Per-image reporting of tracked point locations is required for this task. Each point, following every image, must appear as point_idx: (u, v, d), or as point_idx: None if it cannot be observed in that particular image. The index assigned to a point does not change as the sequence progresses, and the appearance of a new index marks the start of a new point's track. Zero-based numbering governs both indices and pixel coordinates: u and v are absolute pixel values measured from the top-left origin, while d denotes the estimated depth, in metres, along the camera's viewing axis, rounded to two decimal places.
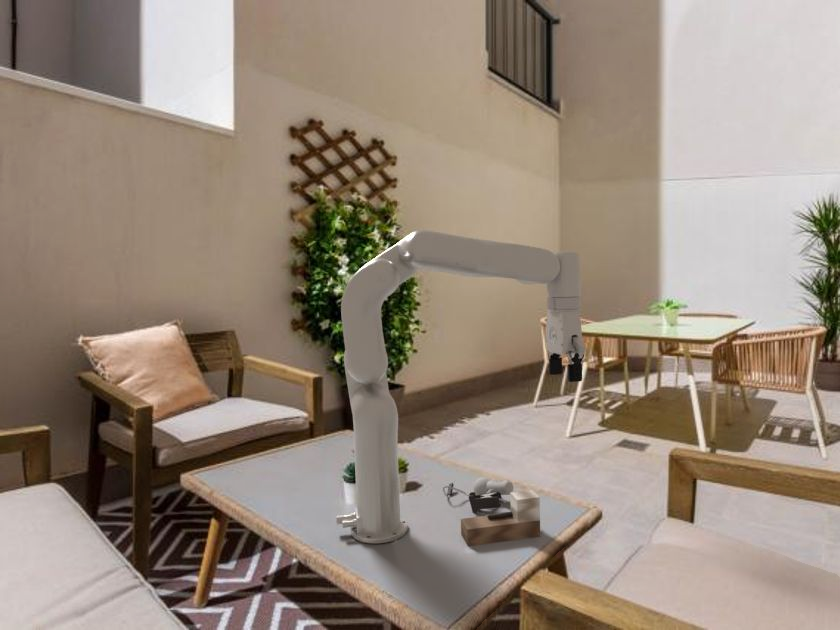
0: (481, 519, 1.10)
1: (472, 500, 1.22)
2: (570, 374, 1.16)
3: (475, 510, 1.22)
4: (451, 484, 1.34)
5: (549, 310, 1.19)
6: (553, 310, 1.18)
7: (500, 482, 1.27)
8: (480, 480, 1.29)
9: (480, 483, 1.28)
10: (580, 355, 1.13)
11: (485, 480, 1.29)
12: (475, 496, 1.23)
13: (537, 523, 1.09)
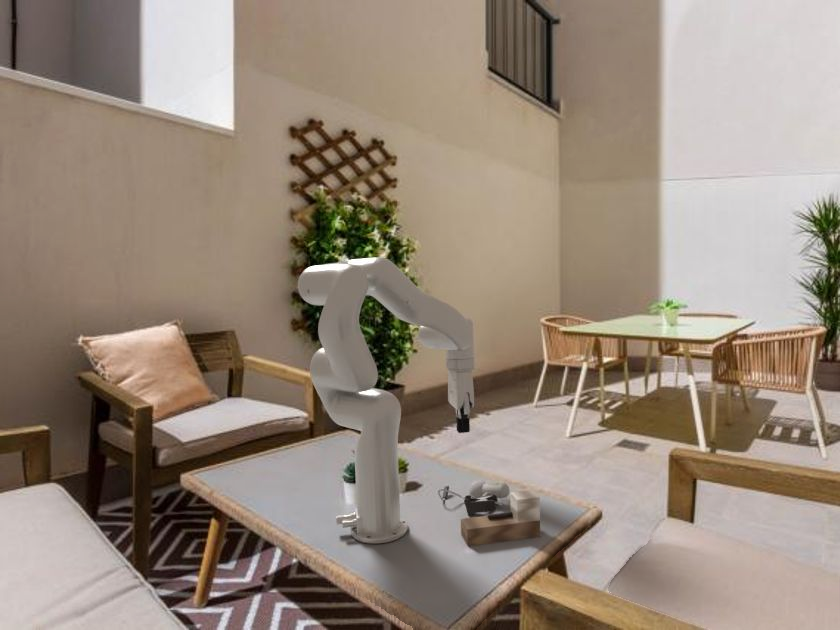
0: (481, 519, 1.10)
1: (468, 503, 1.20)
2: (459, 426, 1.37)
3: (471, 513, 1.20)
4: (446, 487, 1.33)
5: (447, 369, 1.36)
6: (449, 370, 1.35)
7: (496, 485, 1.25)
8: (476, 483, 1.28)
9: (476, 486, 1.27)
10: None
11: (481, 483, 1.27)
12: (471, 499, 1.22)
13: (537, 523, 1.09)
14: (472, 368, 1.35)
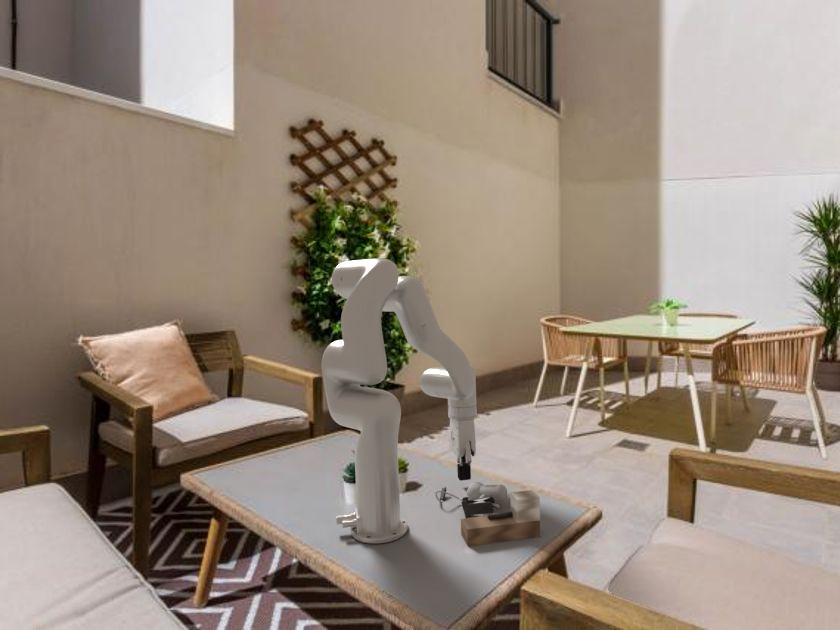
0: (481, 519, 1.10)
1: (465, 505, 1.19)
2: (460, 474, 1.36)
3: (468, 515, 1.19)
4: (444, 488, 1.32)
5: (449, 416, 1.36)
6: (451, 417, 1.34)
7: (493, 487, 1.24)
8: (473, 484, 1.27)
9: (473, 488, 1.26)
10: None
11: (478, 484, 1.26)
12: (468, 501, 1.21)
13: (537, 523, 1.09)
14: (474, 416, 1.34)
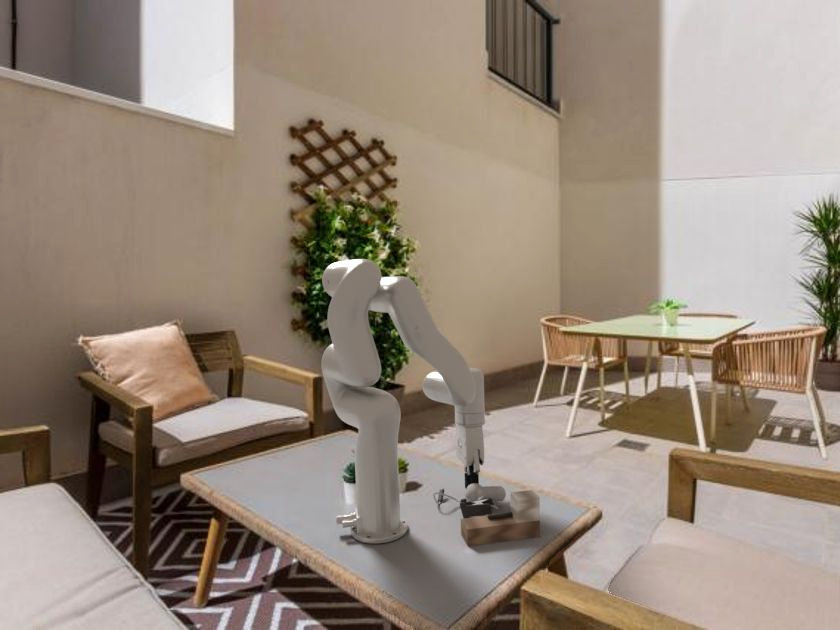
0: (481, 519, 1.10)
1: (463, 507, 1.18)
2: (468, 483, 1.30)
3: (466, 517, 1.18)
4: (442, 490, 1.31)
5: (456, 423, 1.29)
6: (458, 424, 1.28)
7: (492, 488, 1.23)
8: (471, 486, 1.26)
9: (471, 489, 1.25)
10: None
11: (477, 486, 1.25)
12: (466, 503, 1.20)
13: (537, 523, 1.09)
14: (482, 422, 1.28)
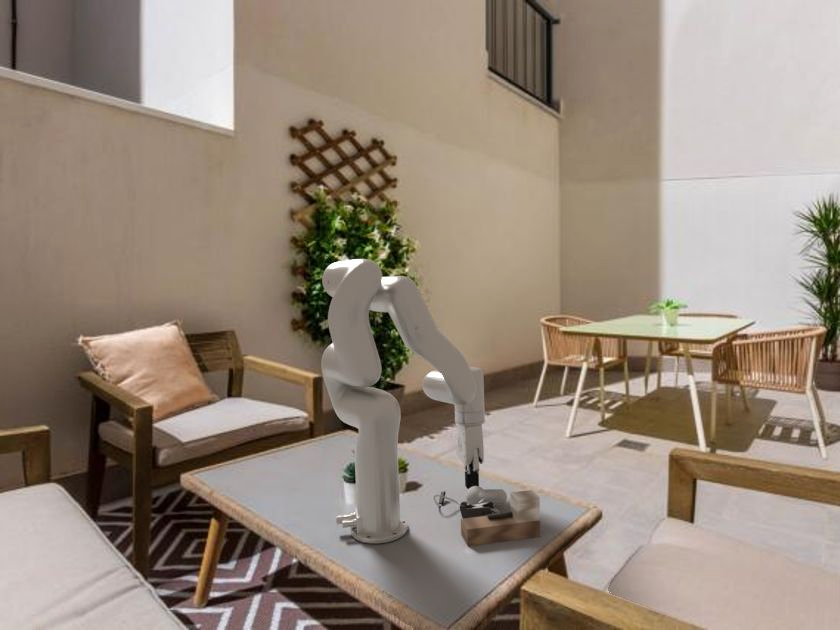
0: (481, 519, 1.10)
1: (463, 510, 1.16)
2: (468, 482, 1.30)
3: None
4: (443, 492, 1.29)
5: (455, 422, 1.29)
6: (458, 423, 1.28)
7: (493, 491, 1.21)
8: (472, 489, 1.24)
9: (472, 492, 1.23)
10: None
11: (478, 489, 1.24)
12: (466, 506, 1.18)
13: (537, 523, 1.09)
14: (482, 421, 1.28)
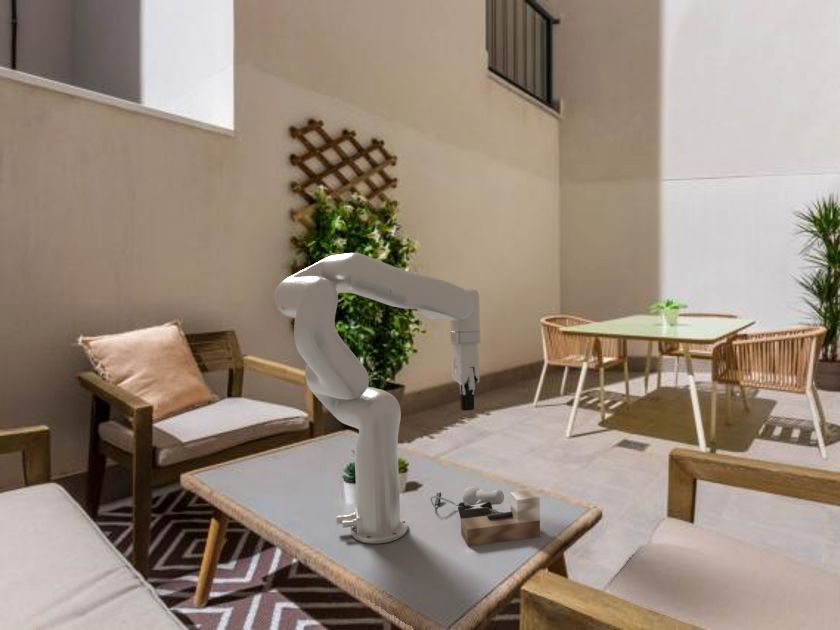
0: (481, 519, 1.10)
1: (461, 511, 1.16)
2: (463, 404, 1.30)
3: None
4: (439, 493, 1.29)
5: (451, 343, 1.30)
6: (454, 343, 1.28)
7: (490, 491, 1.21)
8: (469, 489, 1.24)
9: (469, 492, 1.23)
10: None
11: (474, 489, 1.24)
12: (464, 507, 1.18)
13: (537, 523, 1.09)
14: (478, 342, 1.28)
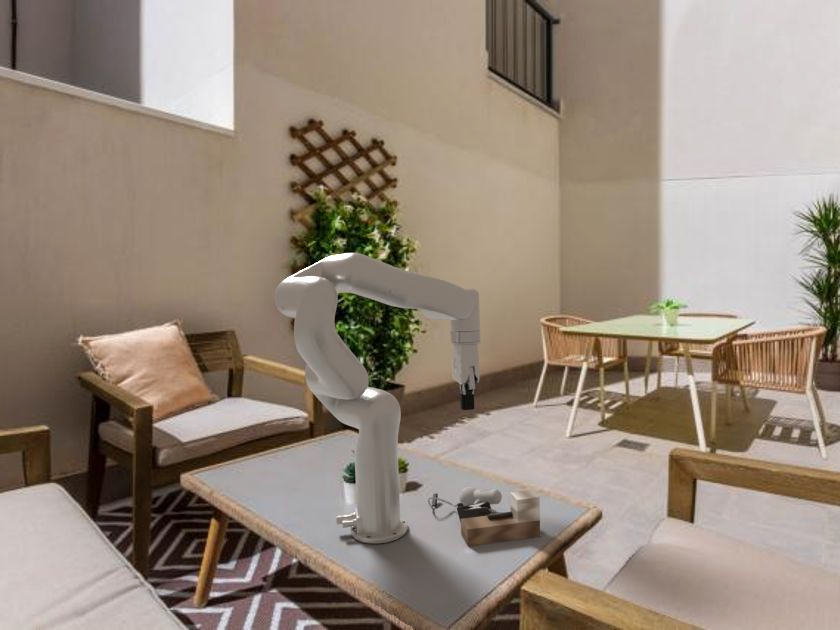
0: (481, 519, 1.10)
1: (460, 511, 1.16)
2: (463, 403, 1.30)
3: None
4: (435, 494, 1.28)
5: (451, 342, 1.30)
6: (454, 343, 1.28)
7: (488, 491, 1.21)
8: (467, 489, 1.23)
9: (467, 493, 1.23)
10: None
11: (472, 489, 1.23)
12: (463, 507, 1.17)
13: (537, 523, 1.09)
14: (478, 341, 1.28)
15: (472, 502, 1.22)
